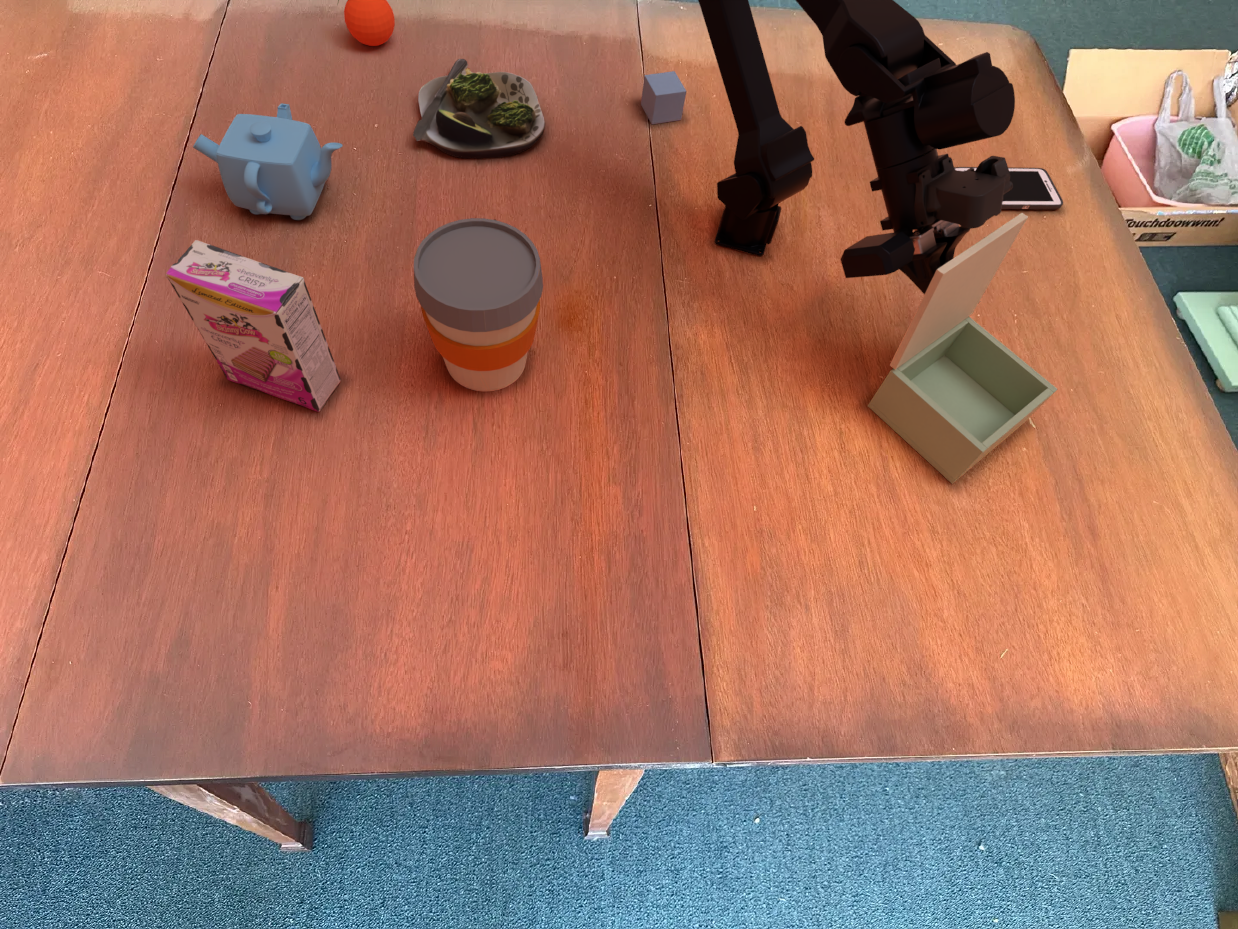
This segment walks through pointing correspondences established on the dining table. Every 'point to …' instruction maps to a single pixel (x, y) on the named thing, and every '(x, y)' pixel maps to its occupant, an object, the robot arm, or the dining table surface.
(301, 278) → the candy bar box
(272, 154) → the teapot
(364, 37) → the clementine
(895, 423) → the chest
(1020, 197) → the cell phone
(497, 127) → the avocado toast plate
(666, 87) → the block
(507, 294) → the reusable coffee cup
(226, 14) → the dining table surface
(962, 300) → the lid
